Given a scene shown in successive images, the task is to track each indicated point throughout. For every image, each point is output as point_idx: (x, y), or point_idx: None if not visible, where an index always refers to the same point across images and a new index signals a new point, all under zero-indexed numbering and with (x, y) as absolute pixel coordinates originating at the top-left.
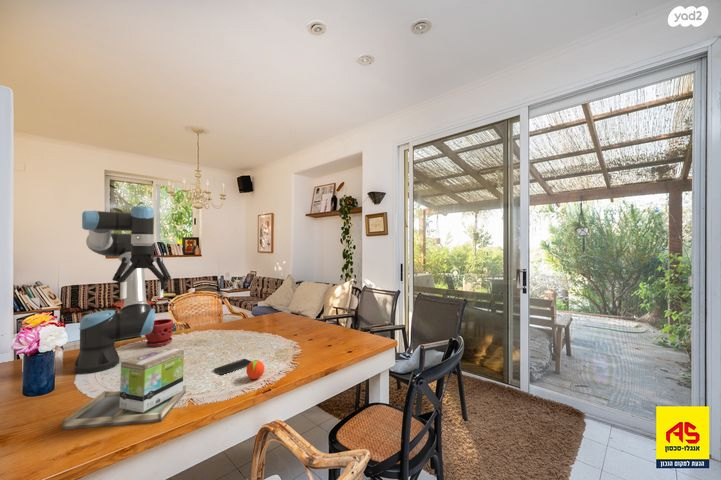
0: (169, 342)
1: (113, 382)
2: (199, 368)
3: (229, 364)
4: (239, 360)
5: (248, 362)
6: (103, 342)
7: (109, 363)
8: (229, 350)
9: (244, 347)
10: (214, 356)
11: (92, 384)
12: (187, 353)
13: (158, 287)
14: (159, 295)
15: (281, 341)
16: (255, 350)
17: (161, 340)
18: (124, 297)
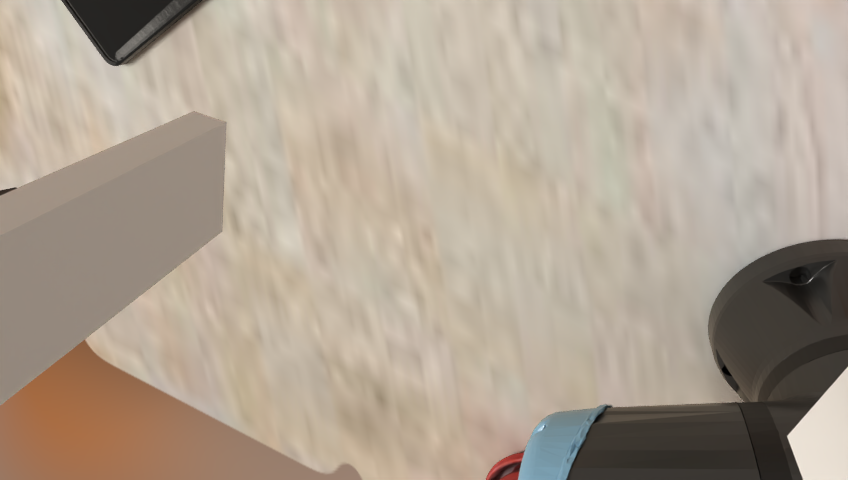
0: (495, 464)
1: (718, 26)
2: (303, 45)
3: (163, 16)
4: (129, 53)
5: (81, 4)
6: (839, 368)
7: (760, 276)
8: (217, 241)
9: None
10: (266, 191)
11: (833, 46)
12: (397, 295)
13: (44, 205)
14: (168, 127)
15: None
16: None
17: None
18: (835, 406)
